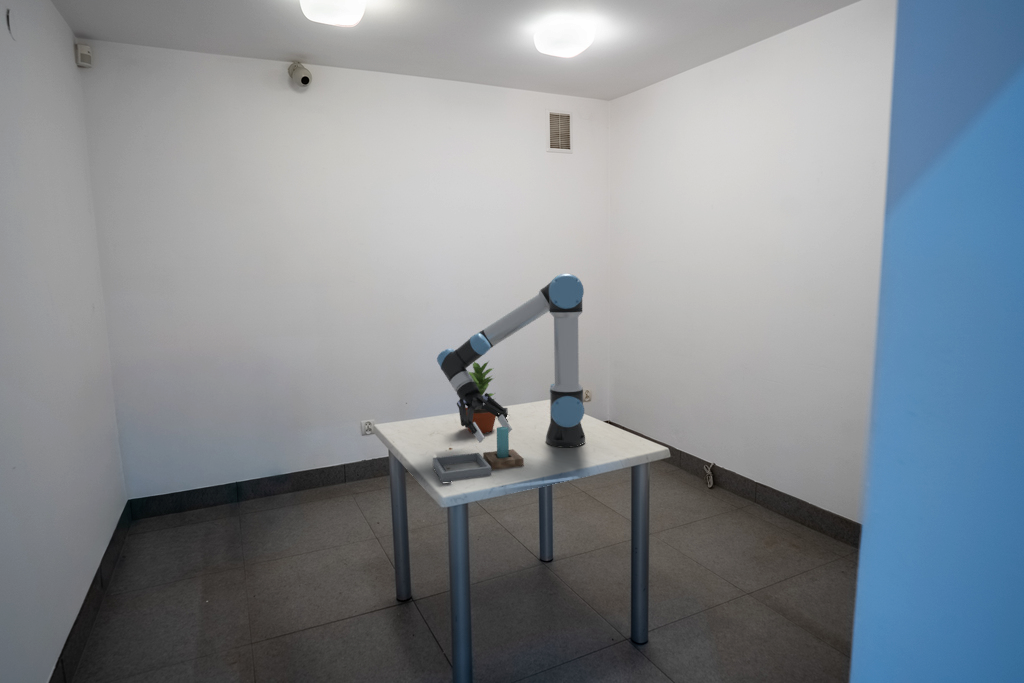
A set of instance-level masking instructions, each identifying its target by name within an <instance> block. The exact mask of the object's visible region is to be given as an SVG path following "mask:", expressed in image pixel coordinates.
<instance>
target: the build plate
mask: <svg viewBox="0 0 1024 683" xmlns="http://www.w3.org/2000/svg"><path fill="white" fill-rule="evenodd" d="M503 408H504V409H506V412H505V413H504V416H505V417H507V415H509V414H508V413H509V410H508V407H503Z"/></svg>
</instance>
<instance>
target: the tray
mask: <svg viewBox="0 0 1024 683" xmlns="http://www.w3.org/2000/svg"><path fill="white" fill-rule="evenodd" d="M470 462H477V463H478V464H479V466H480V467H474V468H464V469H457V470H455V469H454V470H448V471H447V470H446V469H445V467H444V466H445V465H453V464H463V463H470ZM433 468H434V469H435V470H434V469H433ZM432 469H433V470H434V472H435V471H436V472H435V474H436V473H437V474H438V476H439V477H438V476H437V477H438V479H439V478H440V479H441V481H442V482H451V481H453V480H460V479H461V480H462V479H469V478H478V477H484V476H485V477H486V476H491V475H492V469H491V466H490V465H489V464H488V463H487V462H486V461H485V459H484V458H483V455H481V454H480V452H473V453H465V454H462V453H461V454H455V455H454V454H453V455H446V456H437V457H432ZM437 474H436V475H437ZM440 479H439V480H440ZM441 481H440V482H441Z"/></svg>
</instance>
